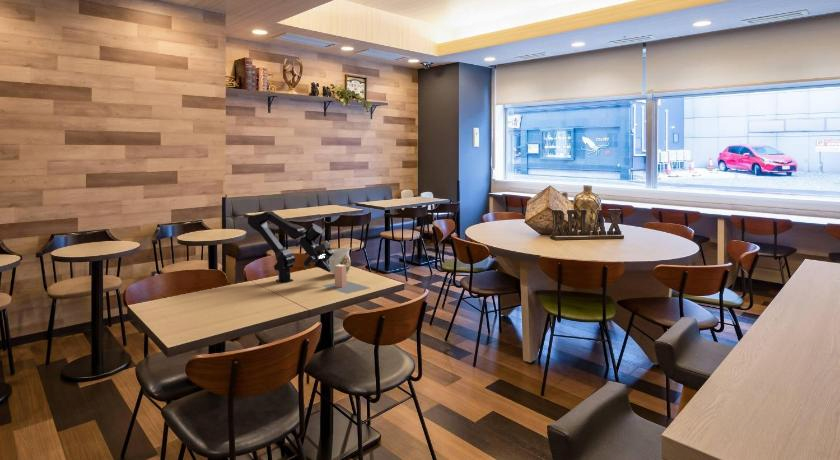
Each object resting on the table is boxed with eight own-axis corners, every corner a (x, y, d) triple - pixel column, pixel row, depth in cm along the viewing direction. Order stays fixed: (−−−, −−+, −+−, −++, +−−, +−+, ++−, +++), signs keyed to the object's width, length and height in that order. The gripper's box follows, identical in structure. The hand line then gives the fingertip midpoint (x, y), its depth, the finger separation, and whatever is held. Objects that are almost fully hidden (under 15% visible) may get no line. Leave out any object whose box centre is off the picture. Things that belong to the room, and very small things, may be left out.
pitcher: (318, 277, 262) (317, 251, 260) (344, 271, 276) (343, 246, 274) (333, 280, 256) (332, 253, 254) (358, 273, 270) (357, 248, 268)
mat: (322, 286, 244) (321, 285, 244) (345, 281, 253) (345, 280, 253) (346, 294, 229) (346, 293, 229) (371, 288, 239) (371, 287, 239)
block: (334, 286, 242) (334, 265, 240) (339, 284, 245) (338, 264, 244) (342, 287, 240) (341, 266, 239) (346, 285, 244) (346, 264, 242)
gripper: (307, 239, 235) (329, 264, 232) (330, 233, 252) (349, 256, 249) (294, 254, 239) (315, 279, 237) (317, 248, 256) (336, 271, 254)
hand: (330, 271), depth 244 cm, fingers closed
